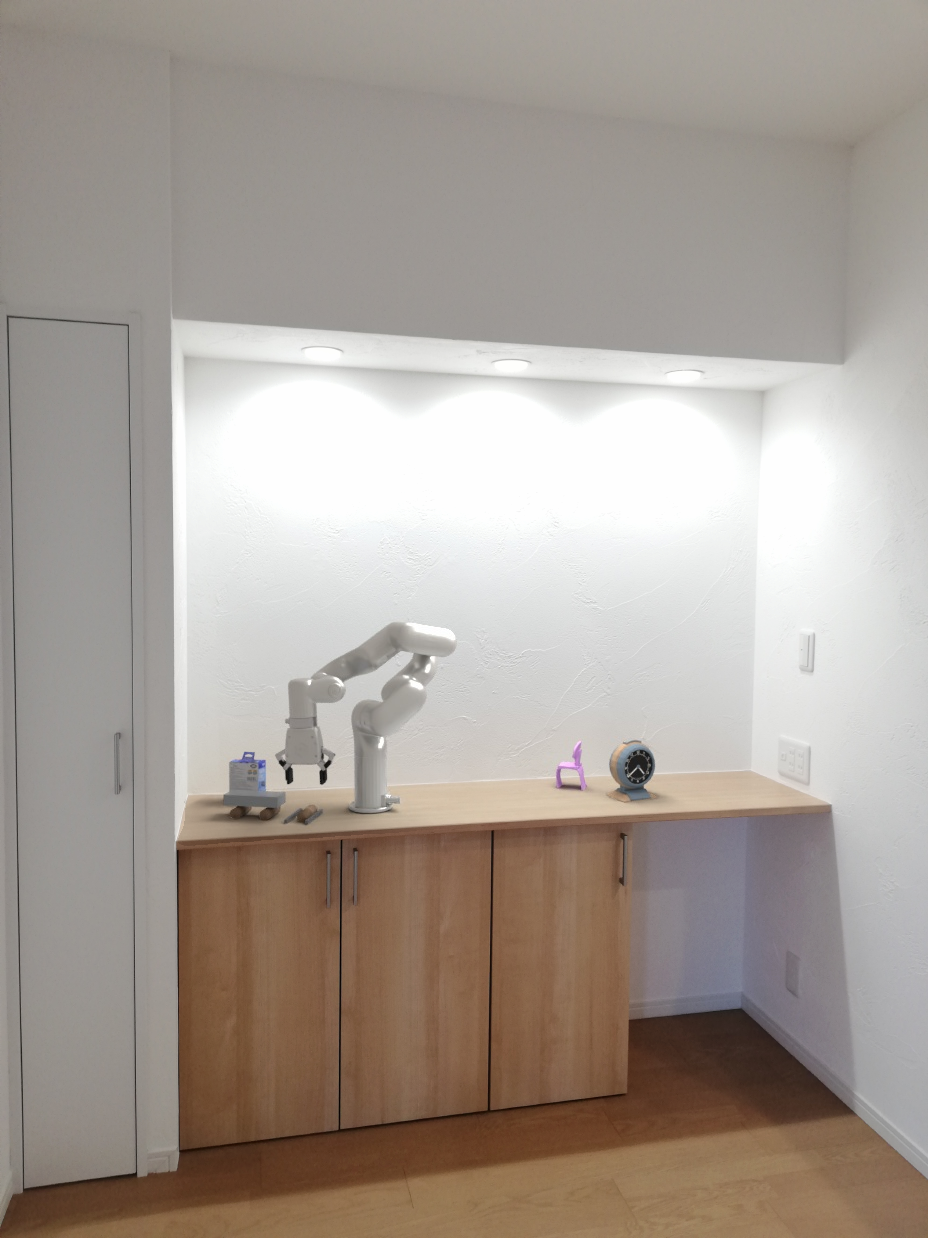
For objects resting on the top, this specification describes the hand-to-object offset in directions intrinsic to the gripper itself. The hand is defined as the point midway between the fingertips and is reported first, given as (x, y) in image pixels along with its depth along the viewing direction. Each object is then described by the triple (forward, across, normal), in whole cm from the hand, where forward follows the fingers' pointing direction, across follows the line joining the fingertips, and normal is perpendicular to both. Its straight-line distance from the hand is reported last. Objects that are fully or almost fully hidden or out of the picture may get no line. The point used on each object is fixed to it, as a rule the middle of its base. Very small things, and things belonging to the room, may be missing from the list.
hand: (306, 783), depth 246 cm
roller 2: (+10, -10, -1) cm, 14 cm away
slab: (+6, -15, -1) cm, 17 cm away
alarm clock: (+14, +90, +40) cm, 99 cm away
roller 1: (+9, -20, -1) cm, 22 cm away
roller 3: (+10, -1, -1) cm, 10 cm away
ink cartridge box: (+10, -24, +15) cm, 30 cm away
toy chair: (+13, +70, +49) cm, 87 cm away
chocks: (+10, -1, -1) cm, 10 cm away
